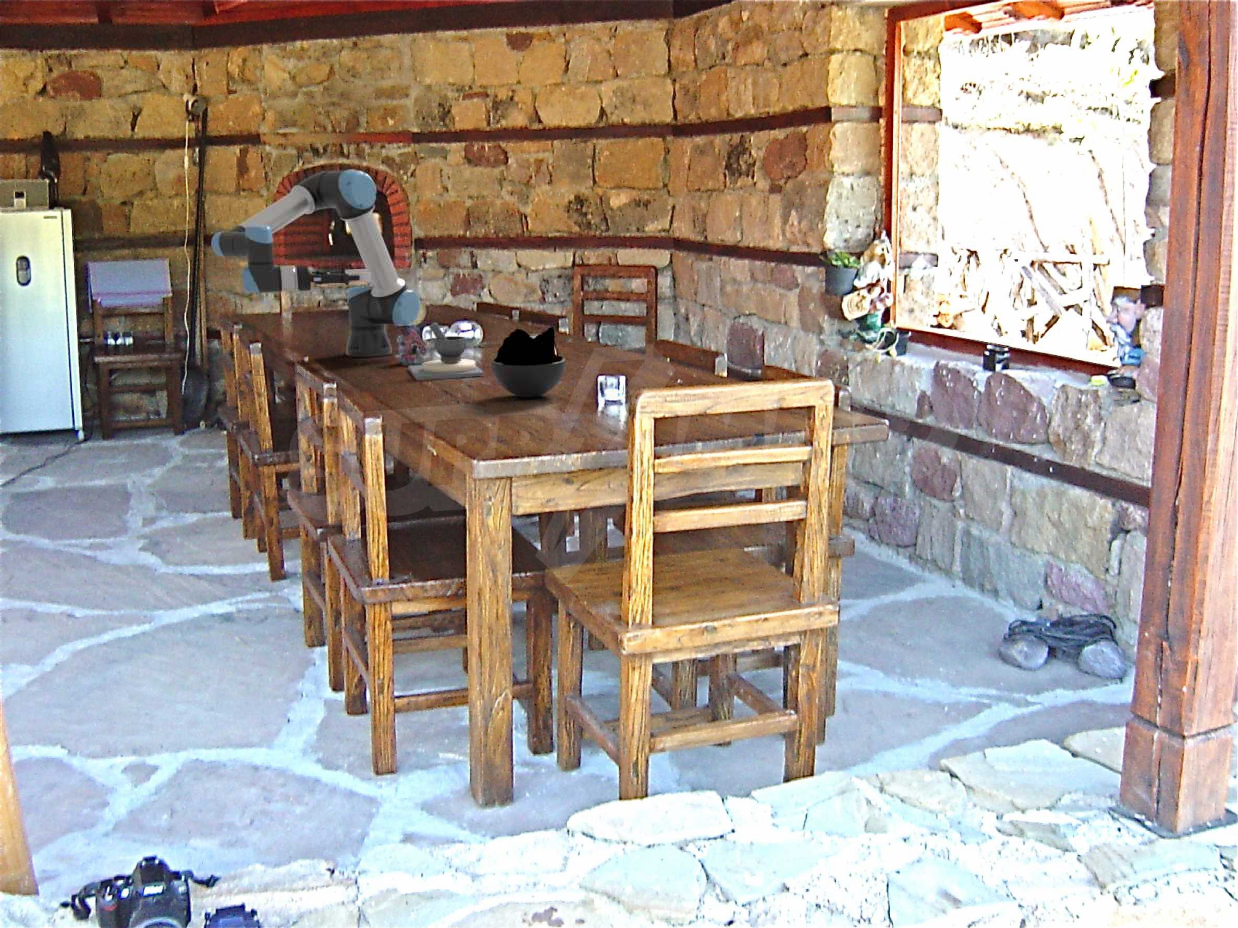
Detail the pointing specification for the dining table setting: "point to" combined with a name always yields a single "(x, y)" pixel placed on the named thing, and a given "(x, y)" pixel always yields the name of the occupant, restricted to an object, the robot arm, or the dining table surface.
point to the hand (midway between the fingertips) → (369, 275)
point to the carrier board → (441, 376)
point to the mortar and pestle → (448, 345)
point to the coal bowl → (528, 363)
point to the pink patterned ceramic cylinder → (412, 350)
